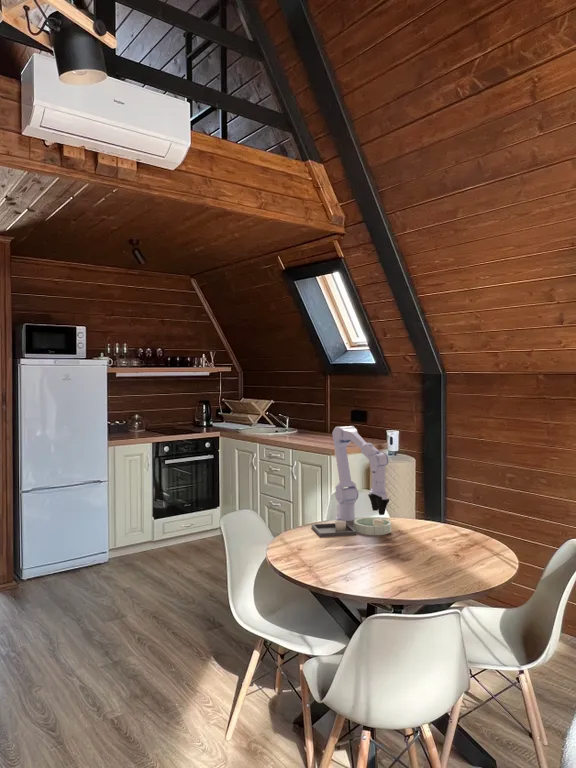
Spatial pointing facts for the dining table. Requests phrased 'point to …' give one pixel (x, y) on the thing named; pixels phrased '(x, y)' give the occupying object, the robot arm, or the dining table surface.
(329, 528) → the tray
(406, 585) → the dining table surface
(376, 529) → the bowl
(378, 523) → the pebble
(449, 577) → the dining table surface
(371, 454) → the robot arm
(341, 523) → the pebble
